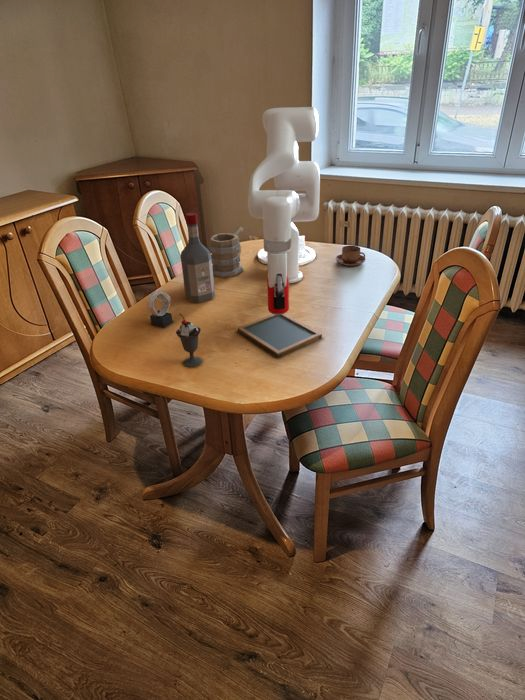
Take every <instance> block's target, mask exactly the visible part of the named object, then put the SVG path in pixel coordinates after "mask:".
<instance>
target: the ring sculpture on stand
mask: <svg viewBox="0 0 525 700" xmlns="http://www.w3.org/2000/svg"><path fill="white" fill-rule="evenodd" d="M156 299H158V300H159V301H161V303H162V307H161V309H159V310H157V309H156V308H155V305H154V304H155V300H156ZM171 299H172V298H171V296H170V295H169V294H168V293H166V292H165V291H163V290H155V291H153V292H152V293H150V295H149V297H148V301H147V307H148V308H147V309H148V311H149V312H150V315H149V320H150V325H152V326H156V327H159V328H166V327H167V326H169V325H171V324H173V323H174V320H173V313H171V312H168V311H169V309H170V304H171Z"/></svg>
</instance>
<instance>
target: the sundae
mask: <svg viewBox="0 0 525 700" xmlns="http://www.w3.org/2000/svg"><path fill="white" fill-rule="evenodd" d="M179 316H181V317H182V319H183V320H181V325H180V326H179V328H178V329H177V330H176V331H175V334H176V336H177V337H178V338H179V339H180V343H181V346H182V348H183V350H184V351H185V352H186V353H189V357H188V358H186V359H184V361H183V364H184V366H186V367H188V368H194V367H198V366H200V365H201V363H202V359H201V358H200V357H198V356H195V354H194V353H195V352H196V351H197V349H198V348H199V335H200V333H201V328H200V327H198V326H196V325H194V324H193V323H192V322H191V321H187V320H185V317H184V315H182V313H179Z"/></svg>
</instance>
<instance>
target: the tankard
mask: <svg viewBox="0 0 525 700" xmlns="http://www.w3.org/2000/svg"><path fill="white" fill-rule="evenodd" d="M243 231H244V228H243V227H241V226H236V228H235V229H234V231H233V232H232V233H229V232H225V233H217V234H214V235H212V236H210V237H209V239H210V240H209V241H210V242H209V243H208V245H209V247H208V248H209V251H210V253H211V259H212V269H213V276H216V277H219V278H227V277H234V276H237V275H239V274H240V273H242V272H243V265H241V264H242V263H241V253H242V246H241V243H240V237H239V234H240V233H243Z"/></svg>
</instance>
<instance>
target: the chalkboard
mask: <svg viewBox="0 0 525 700" xmlns="http://www.w3.org/2000/svg"><path fill="white" fill-rule="evenodd" d="M237 333H238V334H240V335H242V336H243V337H245V338H246V339H248V340H249V341H251V342H252V343H254V344H255V345H257V346H258V347H260V348H261V349H263V350H265V351H266V352H268V353H269V354H271V355H272V356H274V357H276V358H277V359H280V358H282V357H284V356H286V355H289V354H291V353H293V352H295V351H298V350H300V349H302V348H304V347H306V346H308V345H310V344H312V343H315V342H318V341H319V340H322V338H323V334H322V333H321V332H319V331H318V330H315V329H314V328H312V327H310V326H309V325H306V324H304V323H302V322H300V321H299V320H297V319H295V318H293V317H291V316H290V315H288V314H286V313H284V314H282V315H274V314H272V313H270V314H268V315H266V316H264V317H261V318H259V319H256V320H254V321H251V322H248V323H245V324H243V325H241V326H238V327H237Z"/></svg>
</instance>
